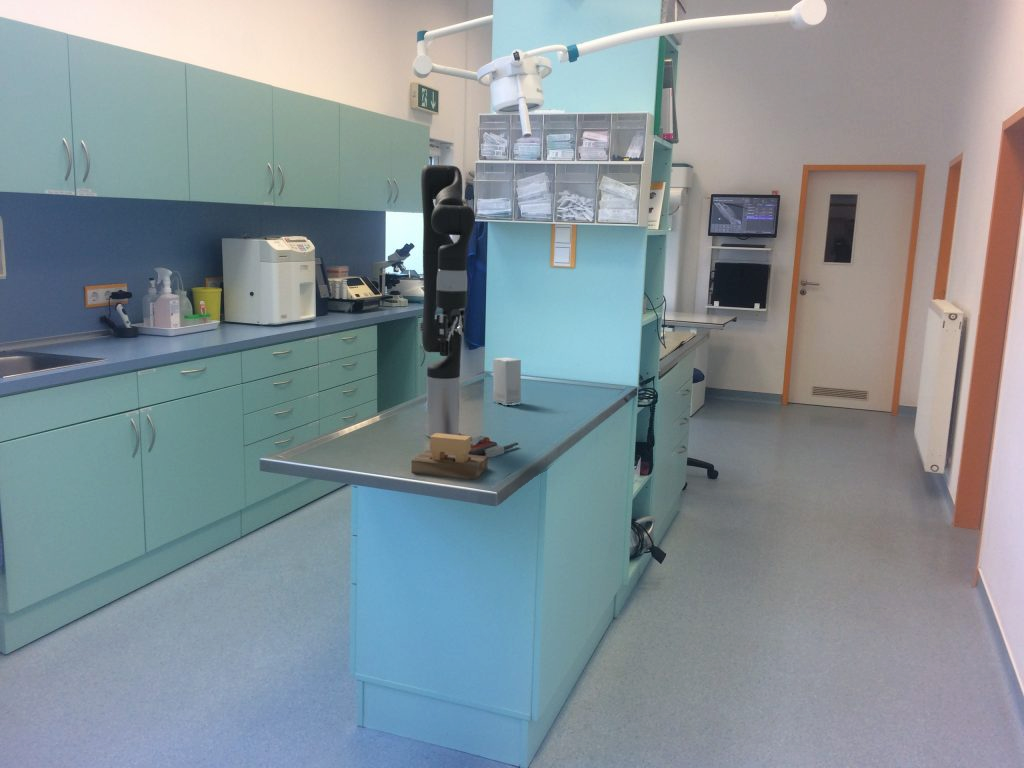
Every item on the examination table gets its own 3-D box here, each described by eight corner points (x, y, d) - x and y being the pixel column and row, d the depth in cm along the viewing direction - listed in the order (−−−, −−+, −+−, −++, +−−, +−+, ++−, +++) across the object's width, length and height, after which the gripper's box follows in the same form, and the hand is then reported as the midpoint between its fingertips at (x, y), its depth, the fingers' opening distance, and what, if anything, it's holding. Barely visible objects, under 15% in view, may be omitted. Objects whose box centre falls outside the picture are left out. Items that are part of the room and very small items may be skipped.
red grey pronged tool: (475, 464, 204) (520, 449, 220) (476, 447, 204) (521, 433, 220) (448, 458, 209) (494, 444, 225) (449, 441, 208) (495, 428, 225)
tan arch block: (435, 466, 200) (436, 432, 199) (470, 470, 198) (470, 436, 196) (429, 470, 196) (430, 436, 195) (464, 474, 194) (465, 440, 193)
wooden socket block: (426, 461, 204) (427, 450, 204) (487, 468, 200) (487, 456, 199) (411, 472, 195) (411, 460, 194) (474, 479, 190) (474, 467, 190)
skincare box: (521, 405, 277) (522, 359, 274) (504, 406, 273) (506, 361, 270) (507, 400, 284) (508, 356, 281) (491, 402, 280) (492, 357, 277)
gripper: (456, 291, 192) (454, 359, 195) (475, 287, 205) (473, 350, 208) (426, 289, 194) (425, 356, 197) (447, 285, 207) (446, 348, 210)
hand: (450, 353), depth 203 cm, fingers open, 8 cm apart
